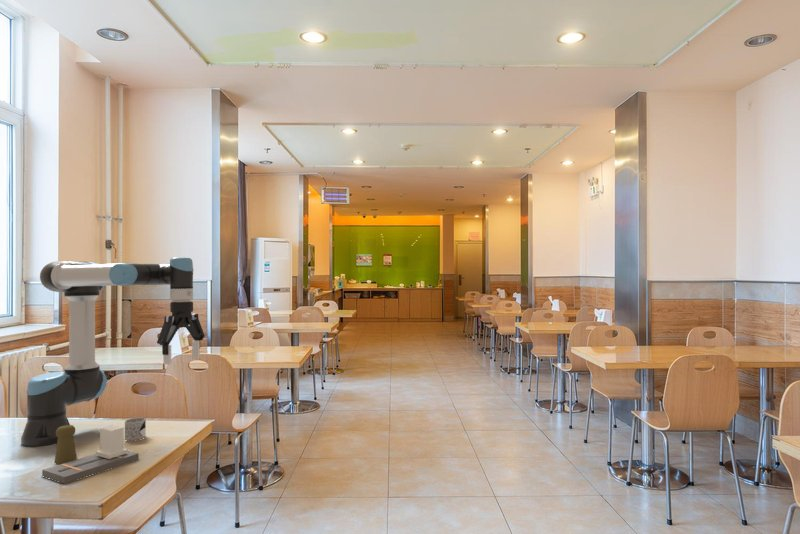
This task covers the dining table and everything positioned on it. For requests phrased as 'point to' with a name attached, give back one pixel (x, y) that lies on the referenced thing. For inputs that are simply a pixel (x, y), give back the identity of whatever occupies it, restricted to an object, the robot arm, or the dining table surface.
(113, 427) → the slider handle
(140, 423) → the mug
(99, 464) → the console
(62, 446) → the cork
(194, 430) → the dining table surface
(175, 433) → the dining table surface
